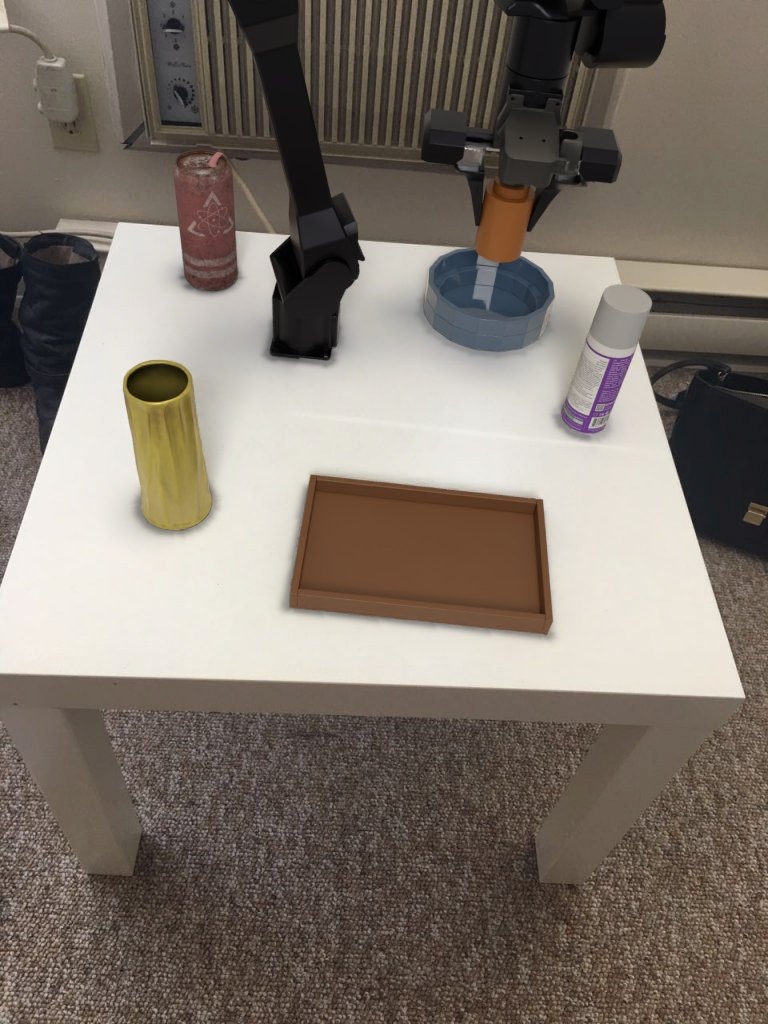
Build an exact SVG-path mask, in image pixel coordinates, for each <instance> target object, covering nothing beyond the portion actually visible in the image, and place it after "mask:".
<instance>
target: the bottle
mask: <svg viewBox="0 0 768 1024" xmlns="http://www.w3.org/2000/svg"><path fill="white" fill-rule="evenodd" d="M534 199H535V189H534V188H533V187H532V186H531V185H523V184H514V185H508V184H505V183H503V182H501V181H500V179H499V177H498V174H496V175H495V176H494V178H493V179H492V180H490V181H489V182H487V184H486V185H485V189H484V192H483V201H482V216H481V220H480V225H479V226H477V230H476V235H475V240H474V241H475V242H474V247H475V250H476V252H477V253H478V254H479V255H480V256H481V257H483V258H485V259H487V260H490V261H493V262H500V263H507V262H512V261H515V260H517V259H518V258H519V257H520V256H522V253H523V252H522V251H523V247H524V245H525V244H524V243H525V240H526V235H527V227H528V223H529V219H530V215H531V211H532V207H533V203H534Z"/></svg>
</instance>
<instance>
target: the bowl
mask: <svg viewBox="0 0 768 1024" xmlns="http://www.w3.org/2000/svg"><path fill="white" fill-rule="evenodd" d="M555 298H556V295H555V286H554V281H553V280H552V279H551V277H550V276H549V275H548V274H547V272H546V271H545V270H544V268H542V267H541V266H539V265H537V264H536V263H535V262H533V261H532V260H530V259H528V258H527V257H525V256H522V255H520V257H519V258H518V259H517V260H515V261H512V262H507V263H500V262H493V261H490V260H487V259H485V258H483V257H481V256H480V255H479V254H478V253H477V252H476V250H475V247H473V246H472V247H465V248H457V249H454V250H452V251H449V252H447V253H444V254H442V255H440V256H438V258H437V259H436V260H435V261H434V262H433V263H432V264H431V265H430V267H429V268H428V273H427V280H426V287H425V295H424V300H423V301H424V303H423V313H424V315H425V317H426V319H427V321H428V322H429V324H430V326H431V328H433V329H434V330H435V331H436V332H438V333H439V334H440V335H442V336H443V337H445V338H446V339H447V340H449V341H450V342H452V343H456V344H457V345H461V346H464V347H466V348H469V349H472V350H477V351H487V352H495V353H501V352H508V351H515V350H520V349H524V348H526V347H527V346H529V345H531V344H533V343H535V342H536V341H538V340H539V339H540V338H541V336H542V335H543V333H544V332H545V330H546V328H547V326H548V323H549V318H550V315H551V312H552V308H553V305H554V301H555Z"/></svg>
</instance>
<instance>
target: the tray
mask: <svg viewBox="0 0 768 1024" xmlns="http://www.w3.org/2000/svg"><path fill="white" fill-rule="evenodd" d="M306 492H307V493H306V497H305V503H304V509H303V515H302V521H301V526H300V534H299V538H298V544H297V550H296V556H295V560H294V561H295V562H294V567H293V572H292V579H291V584H290V590H289V608H290V609H299V610H300V609H301V610H308V611H309V610H310V611H317V612H318V611H319V612H329V613H340V614H349V615H358V616H368V617H378V618H386V619H396V620H404V621H405V620H407V621H416V622H426V623H433V624H435V623H436V624H443V625H444V624H445V625H453V626H463V627H472V628H482V629H483V628H484V629H492V630H501V631H510V632H511V631H512V632H521V633H529V634H530V633H531V634H541V635H548V634H549V631H550V629H551V627H552V625H553V622H554V615H553V602H552V591H551V579H550V566H549V565H550V564H549V556H548V554H549V553H548V543H547V531H546V519H545V506H544V499H543V498H535V497H534V498H533V497H524V496H523V497H522V496H515V495H505V494H497V493H488V492H478V491H470V490H460V489H449V488H441V487H432V486H423V485H422V486H421V485H415V484H414V485H413V484H404V483H394V482H386V481H375V480H367V479H358V478H349V477H340V476H339V477H338V476H330V475H319V474H309V481H308V487H307V491H306Z"/></svg>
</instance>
